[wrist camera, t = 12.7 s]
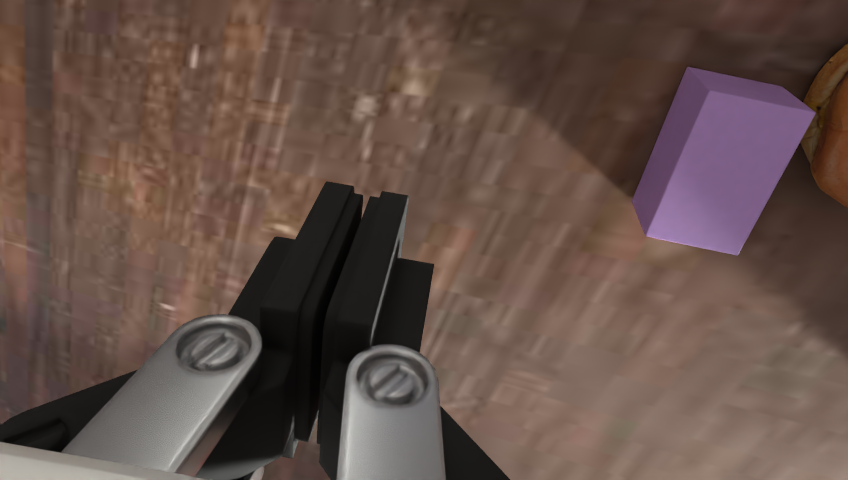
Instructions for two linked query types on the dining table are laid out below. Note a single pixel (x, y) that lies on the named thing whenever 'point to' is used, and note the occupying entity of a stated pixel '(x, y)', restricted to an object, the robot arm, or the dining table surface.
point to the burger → (829, 127)
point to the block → (718, 159)
